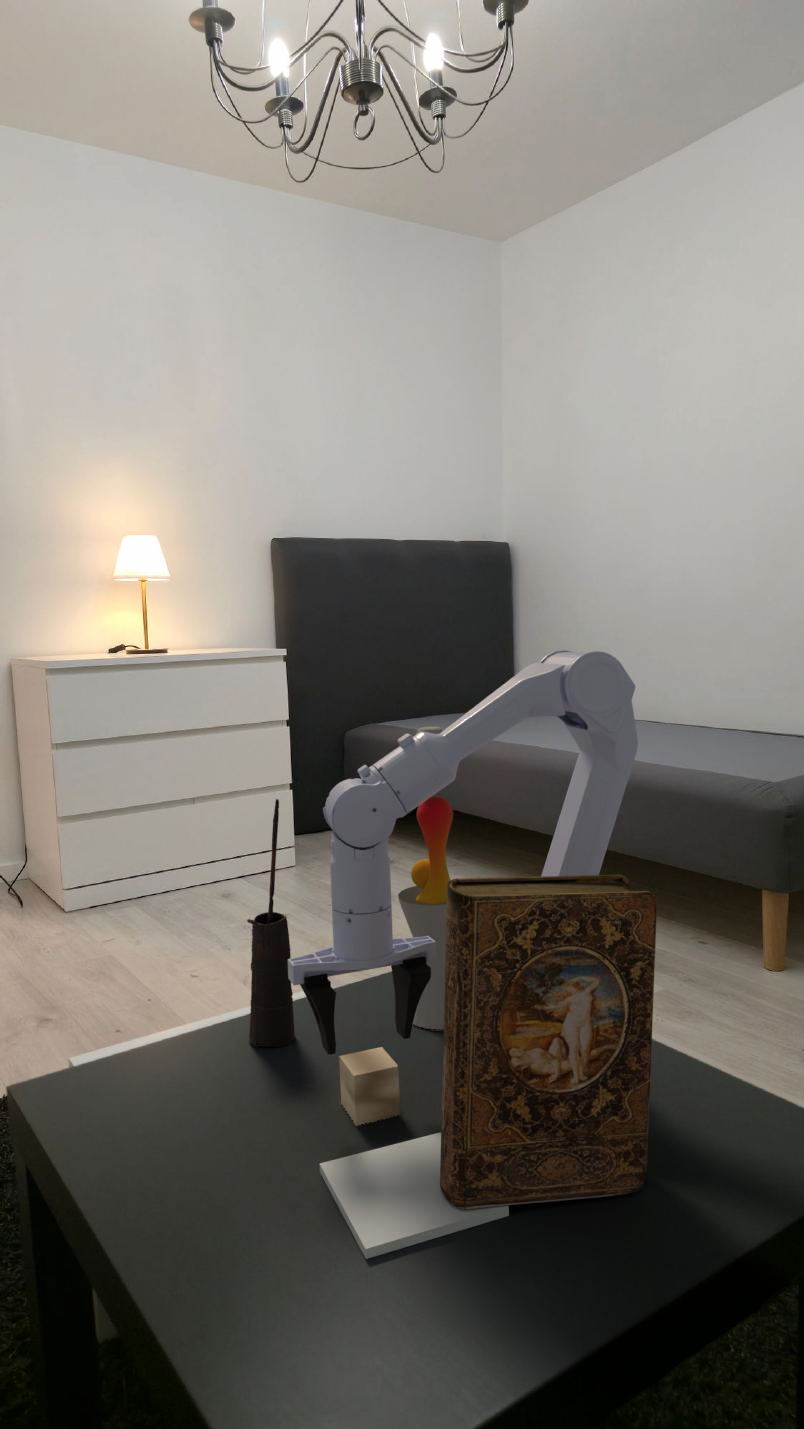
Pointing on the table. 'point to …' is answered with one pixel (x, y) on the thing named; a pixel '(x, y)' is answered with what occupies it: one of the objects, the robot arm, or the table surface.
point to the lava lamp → (431, 901)
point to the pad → (398, 1196)
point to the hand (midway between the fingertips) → (366, 1042)
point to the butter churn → (271, 971)
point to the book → (546, 1039)
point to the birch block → (369, 1085)
